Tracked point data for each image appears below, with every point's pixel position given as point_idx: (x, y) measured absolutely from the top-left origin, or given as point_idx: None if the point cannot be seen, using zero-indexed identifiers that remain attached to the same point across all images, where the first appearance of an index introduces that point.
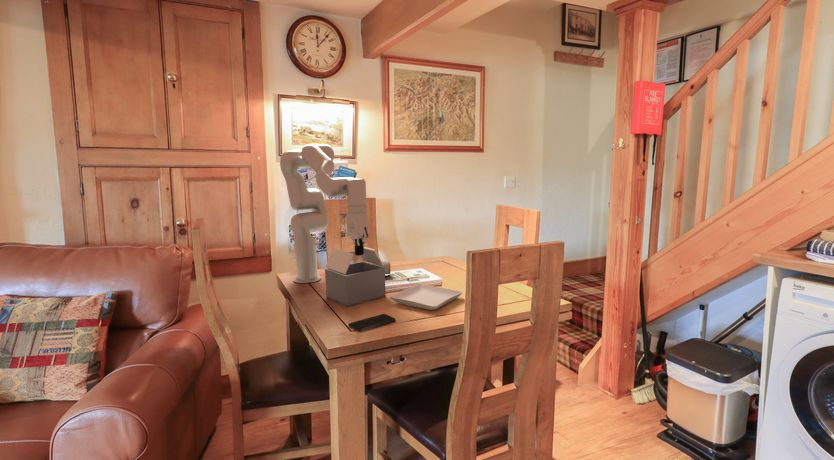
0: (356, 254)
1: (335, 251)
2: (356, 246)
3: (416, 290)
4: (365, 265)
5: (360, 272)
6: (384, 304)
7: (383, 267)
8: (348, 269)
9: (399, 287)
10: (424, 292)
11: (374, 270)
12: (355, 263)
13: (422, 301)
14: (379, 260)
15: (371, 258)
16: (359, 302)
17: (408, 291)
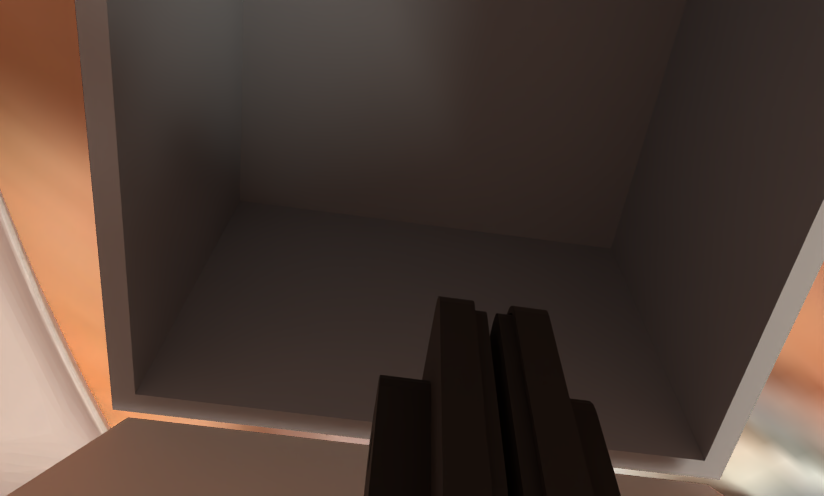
0: (469, 307)
1: None
2: (458, 490)
3: (90, 424)
4: (602, 419)
5: None
6: (16, 23)
7: (135, 408)
8: (770, 191)
9: (357, 442)
10: (38, 436)
11: (100, 237)
12: (748, 357)
13: None
14: (87, 451)
15: (358, 480)
16: None
17: (53, 348)
